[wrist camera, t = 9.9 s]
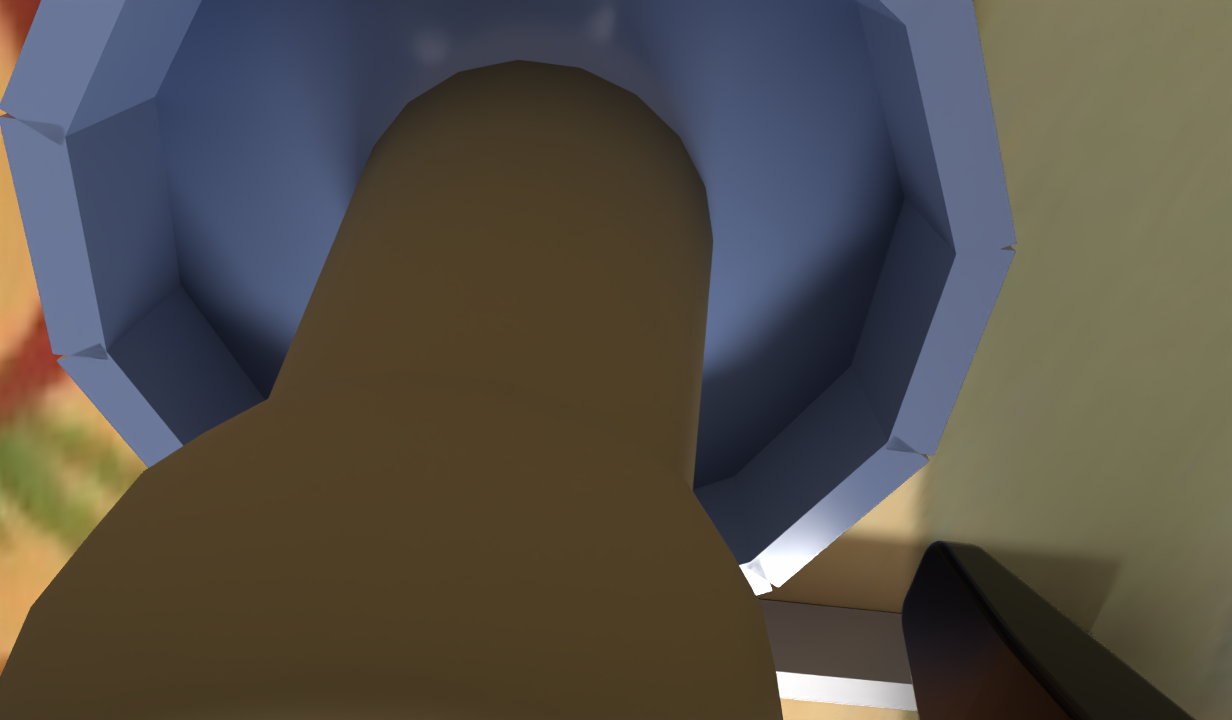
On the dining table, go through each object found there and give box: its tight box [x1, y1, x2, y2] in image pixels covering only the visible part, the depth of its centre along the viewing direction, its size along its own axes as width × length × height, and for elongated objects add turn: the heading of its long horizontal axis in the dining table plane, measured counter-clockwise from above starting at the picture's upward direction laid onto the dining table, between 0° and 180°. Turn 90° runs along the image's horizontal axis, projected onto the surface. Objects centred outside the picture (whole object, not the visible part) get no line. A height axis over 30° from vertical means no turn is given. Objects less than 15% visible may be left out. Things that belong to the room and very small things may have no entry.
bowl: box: [0, 0, 1017, 595], centre depth 13 cm, size 14×14×3 cm
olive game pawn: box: [0, 60, 783, 720], centre depth 9 cm, size 6×6×11 cm
